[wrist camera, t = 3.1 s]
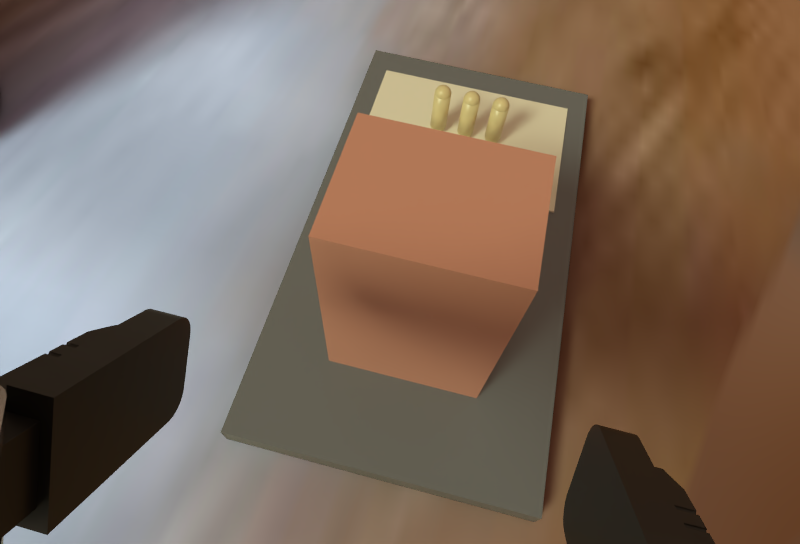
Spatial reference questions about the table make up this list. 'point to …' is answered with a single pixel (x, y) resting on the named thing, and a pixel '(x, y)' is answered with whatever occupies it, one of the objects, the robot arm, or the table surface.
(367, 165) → the block
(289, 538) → the table surface
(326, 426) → the pin board
